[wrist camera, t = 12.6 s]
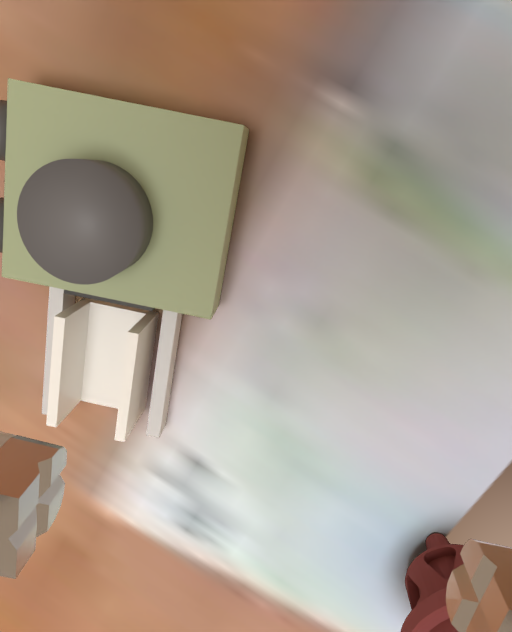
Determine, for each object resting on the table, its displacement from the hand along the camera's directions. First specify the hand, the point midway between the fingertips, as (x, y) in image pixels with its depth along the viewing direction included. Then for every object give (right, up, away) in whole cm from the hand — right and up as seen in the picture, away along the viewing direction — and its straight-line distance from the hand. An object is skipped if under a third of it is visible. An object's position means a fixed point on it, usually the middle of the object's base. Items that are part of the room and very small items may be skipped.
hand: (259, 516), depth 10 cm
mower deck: (-10, +7, +25) cm, 28 cm away
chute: (-11, +1, +27) cm, 29 cm away
